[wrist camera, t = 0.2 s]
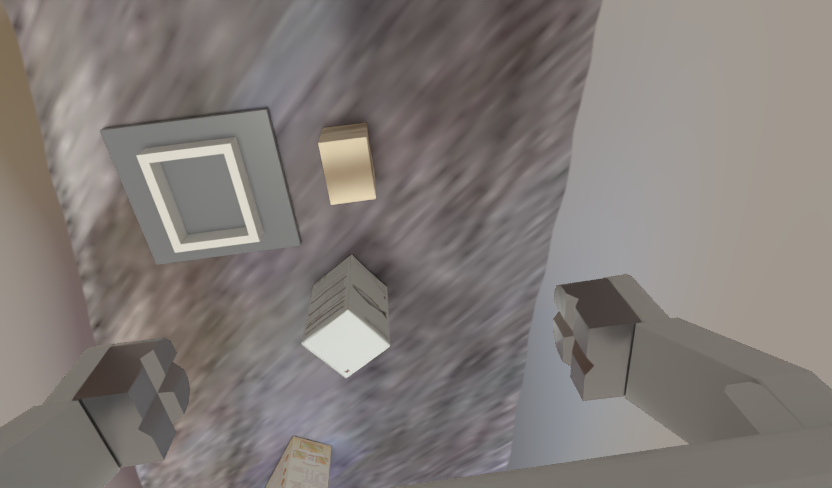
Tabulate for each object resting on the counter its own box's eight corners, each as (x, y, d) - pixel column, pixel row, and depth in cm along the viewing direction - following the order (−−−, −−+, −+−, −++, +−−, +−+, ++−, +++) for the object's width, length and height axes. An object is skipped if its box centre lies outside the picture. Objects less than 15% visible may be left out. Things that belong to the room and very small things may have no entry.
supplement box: (389, 286, 66) (393, 347, 55) (349, 316, 68) (345, 381, 57) (351, 251, 63) (348, 308, 52) (311, 283, 65) (299, 345, 54)
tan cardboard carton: (323, 127, 55) (318, 143, 50) (366, 122, 55) (366, 137, 50) (334, 184, 59) (331, 204, 53) (375, 179, 59) (376, 198, 53)
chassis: (104, 128, 53) (87, 137, 50) (268, 107, 54) (261, 115, 50) (159, 260, 61) (148, 275, 58) (301, 241, 62) (297, 255, 59)
